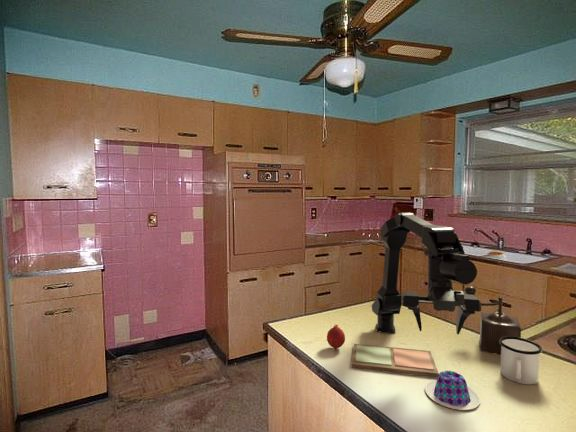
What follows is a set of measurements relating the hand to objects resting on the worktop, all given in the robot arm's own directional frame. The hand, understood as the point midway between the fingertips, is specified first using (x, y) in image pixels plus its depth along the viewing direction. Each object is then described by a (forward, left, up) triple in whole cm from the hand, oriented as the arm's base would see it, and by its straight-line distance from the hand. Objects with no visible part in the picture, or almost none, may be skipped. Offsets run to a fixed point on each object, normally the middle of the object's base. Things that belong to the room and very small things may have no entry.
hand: (438, 332), depth 88 cm
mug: (-4, +21, -13) cm, 24 cm away
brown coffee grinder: (-23, +20, -13) cm, 33 cm away
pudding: (+8, +2, -13) cm, 15 cm away
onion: (-10, -28, -13) cm, 33 cm away
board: (-6, -11, -12) cm, 18 cm away
